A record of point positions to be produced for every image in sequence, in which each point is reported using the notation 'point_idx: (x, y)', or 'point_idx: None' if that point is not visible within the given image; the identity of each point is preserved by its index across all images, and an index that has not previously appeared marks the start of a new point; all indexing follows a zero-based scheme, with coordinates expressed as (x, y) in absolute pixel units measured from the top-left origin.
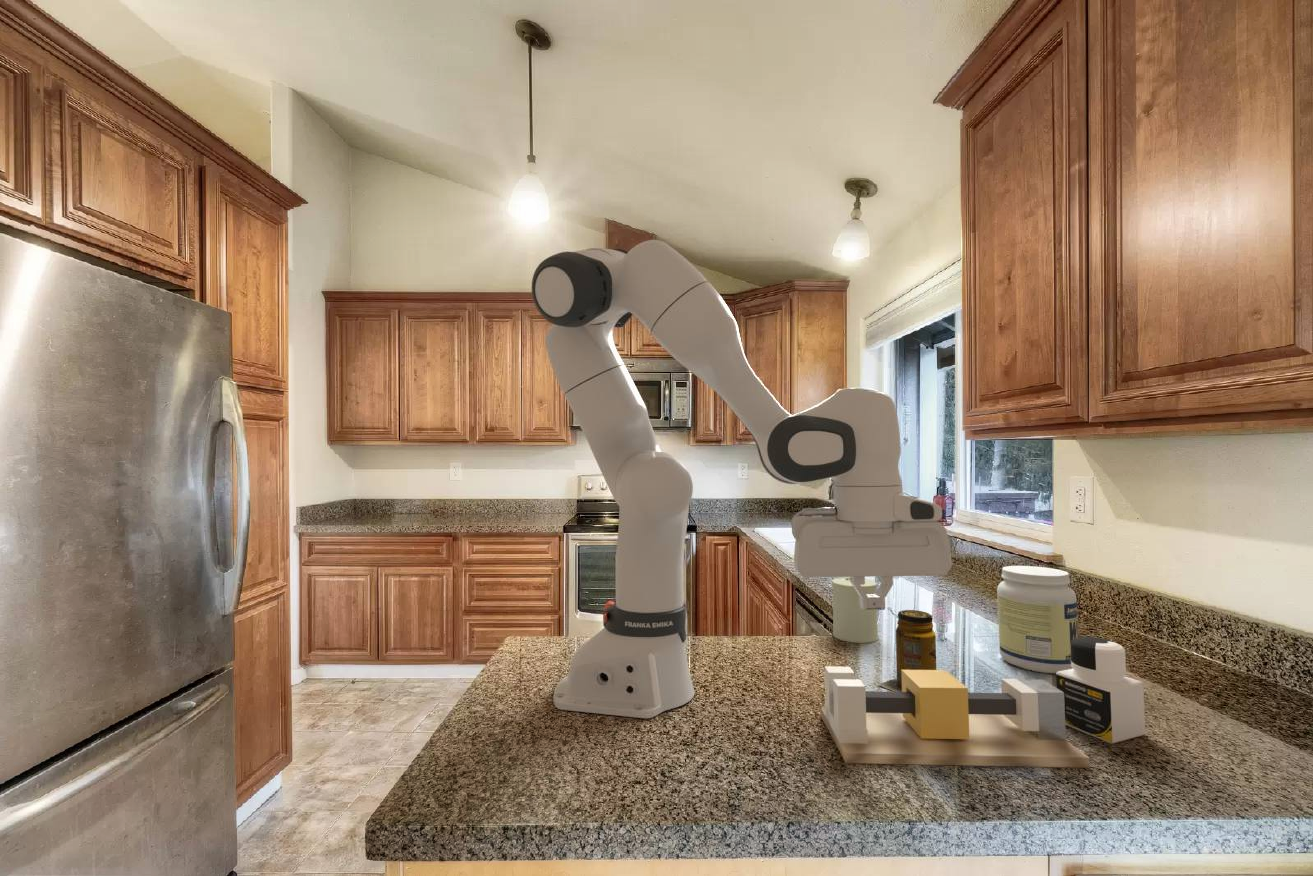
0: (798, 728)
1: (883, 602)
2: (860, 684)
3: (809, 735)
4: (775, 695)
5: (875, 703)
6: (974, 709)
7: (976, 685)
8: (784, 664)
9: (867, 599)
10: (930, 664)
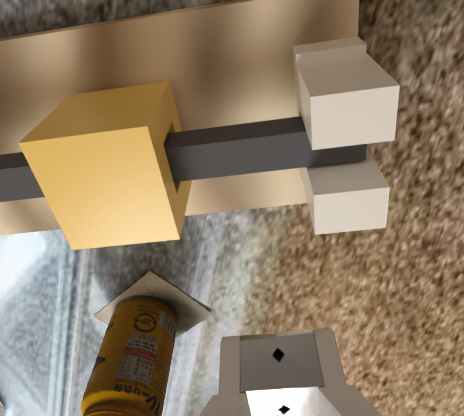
0: (412, 132)
1: (228, 364)
2: (321, 111)
3: None
4: (415, 259)
5: (263, 130)
6: None
7: (48, 330)
8: (360, 365)
9: (318, 375)
10: (110, 341)
